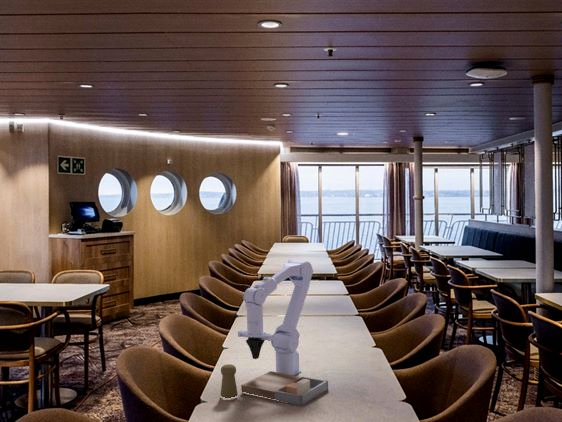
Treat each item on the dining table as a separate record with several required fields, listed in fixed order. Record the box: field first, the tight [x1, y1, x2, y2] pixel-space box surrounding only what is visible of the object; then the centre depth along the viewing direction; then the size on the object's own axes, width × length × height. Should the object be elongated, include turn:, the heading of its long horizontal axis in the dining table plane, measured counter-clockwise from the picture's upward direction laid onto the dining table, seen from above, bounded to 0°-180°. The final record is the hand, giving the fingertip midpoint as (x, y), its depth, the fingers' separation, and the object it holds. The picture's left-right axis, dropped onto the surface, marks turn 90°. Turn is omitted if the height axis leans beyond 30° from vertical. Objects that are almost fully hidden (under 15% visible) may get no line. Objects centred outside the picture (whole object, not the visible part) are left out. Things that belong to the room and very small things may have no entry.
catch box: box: [275, 376, 329, 407], centre depth 189 cm, size 18×10×3 cm, turn 147°
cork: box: [220, 363, 239, 398], centre depth 189 cm, size 6×6×11 cm
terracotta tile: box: [286, 382, 297, 394], centre depth 191 cm, size 4×4×2 cm
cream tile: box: [297, 379, 310, 395], centre depth 189 cm, size 4×4×2 cm
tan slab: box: [240, 371, 302, 399], centre depth 196 cm, size 18×14×3 cm
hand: (255, 358), depth 202 cm, fingers closed
